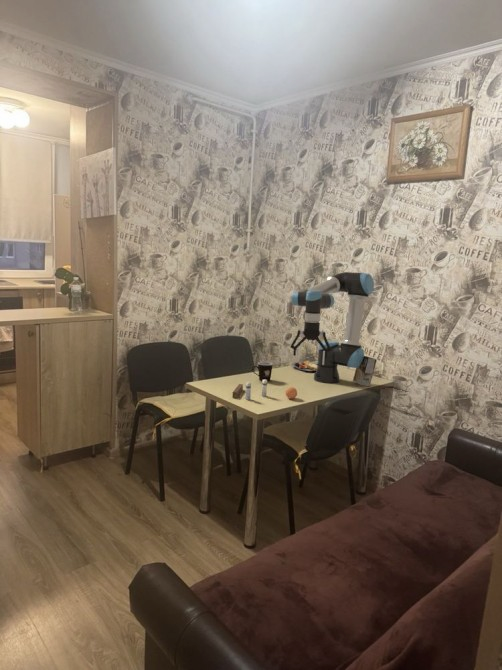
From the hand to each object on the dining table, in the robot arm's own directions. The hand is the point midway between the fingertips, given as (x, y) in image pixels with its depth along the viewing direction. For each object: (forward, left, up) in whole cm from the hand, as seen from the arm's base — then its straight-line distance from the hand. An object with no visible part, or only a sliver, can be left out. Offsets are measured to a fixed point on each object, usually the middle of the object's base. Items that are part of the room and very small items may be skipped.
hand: (309, 363), depth 234 cm
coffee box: (-29, -38, -19) cm, 51 cm away
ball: (+8, +1, -16) cm, 18 cm away
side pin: (+29, +9, -19) cm, 36 cm away
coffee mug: (+28, -30, -19) cm, 46 cm away
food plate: (+2, -70, -20) cm, 73 cm away
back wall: (+36, +1, -19) cm, 41 cm away
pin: (+22, +1, -19) cm, 29 cm away
